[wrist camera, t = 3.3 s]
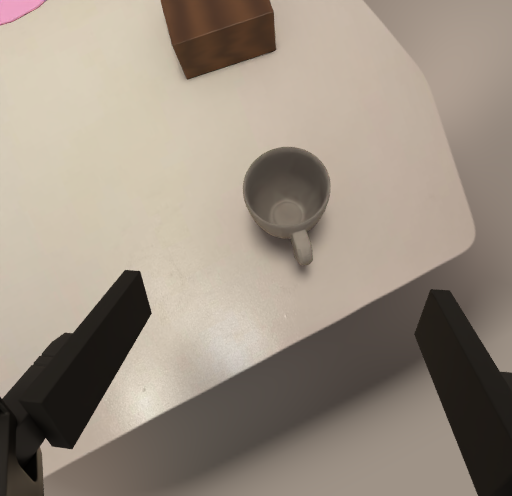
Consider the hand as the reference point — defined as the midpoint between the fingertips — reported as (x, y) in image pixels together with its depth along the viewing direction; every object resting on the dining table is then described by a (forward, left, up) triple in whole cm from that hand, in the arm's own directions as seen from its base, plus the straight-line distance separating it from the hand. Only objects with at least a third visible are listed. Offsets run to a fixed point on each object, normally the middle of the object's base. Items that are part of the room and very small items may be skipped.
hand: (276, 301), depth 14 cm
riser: (-3, -44, -24) cm, 50 cm away
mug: (-4, -10, -24) cm, 26 cm away
